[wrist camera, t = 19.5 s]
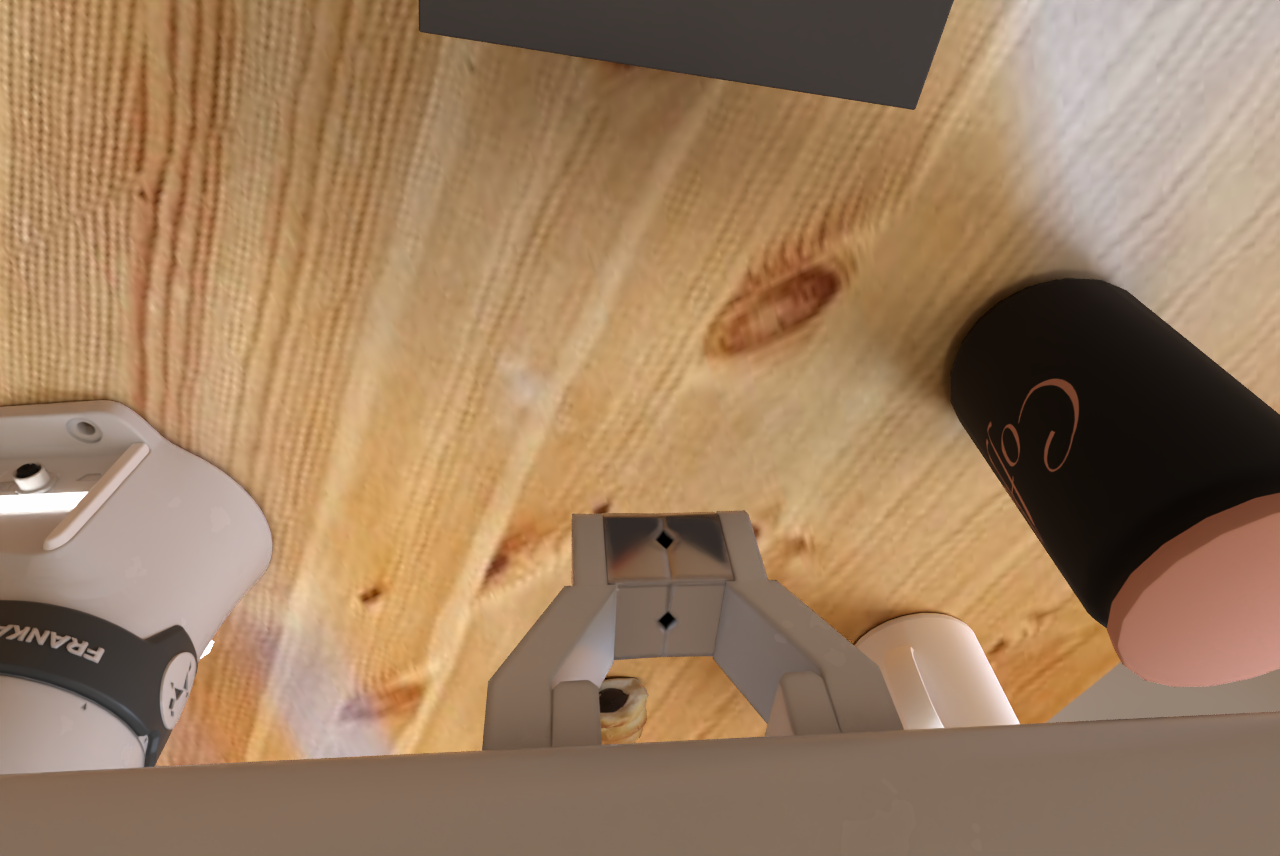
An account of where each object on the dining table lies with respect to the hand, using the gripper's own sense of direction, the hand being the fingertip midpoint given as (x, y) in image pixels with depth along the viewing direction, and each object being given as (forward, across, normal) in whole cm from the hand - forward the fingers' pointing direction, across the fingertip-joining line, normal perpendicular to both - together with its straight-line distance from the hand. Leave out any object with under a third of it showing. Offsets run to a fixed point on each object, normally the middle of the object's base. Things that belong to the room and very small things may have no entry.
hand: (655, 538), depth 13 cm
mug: (+26, -24, +38) cm, 52 cm away
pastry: (+27, -2, +45) cm, 52 cm away
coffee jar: (+26, -25, +12) cm, 38 cm away
